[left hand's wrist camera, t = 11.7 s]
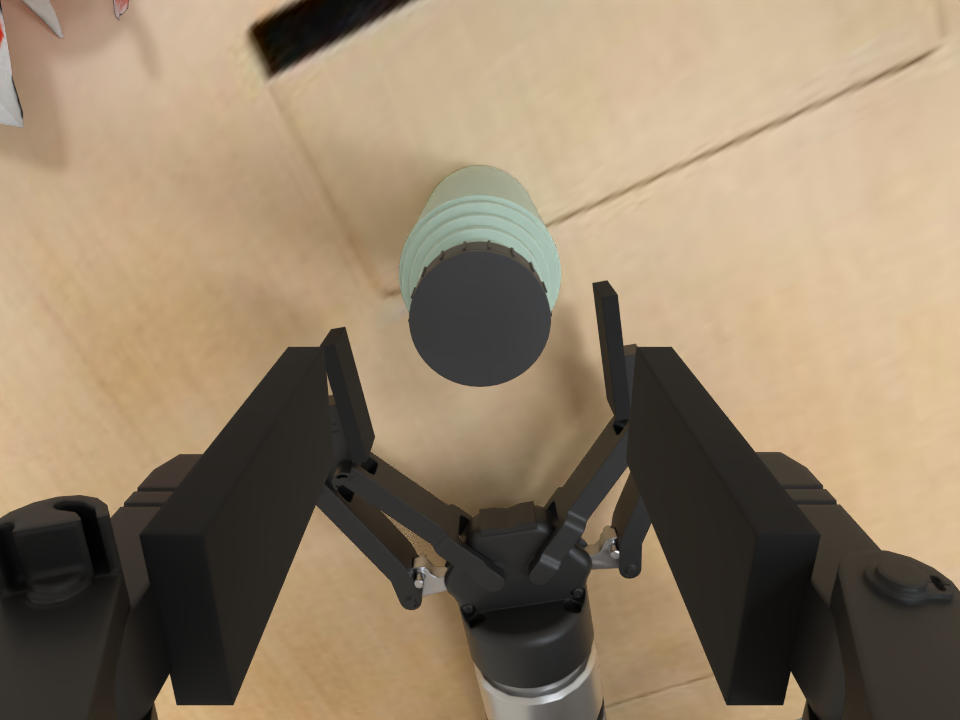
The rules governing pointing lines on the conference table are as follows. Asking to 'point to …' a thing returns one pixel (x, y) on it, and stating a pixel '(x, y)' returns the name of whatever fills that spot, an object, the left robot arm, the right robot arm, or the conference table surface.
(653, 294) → the conference table surface
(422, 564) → the right robot arm
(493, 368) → the cap
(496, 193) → the bottle
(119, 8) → the fish
